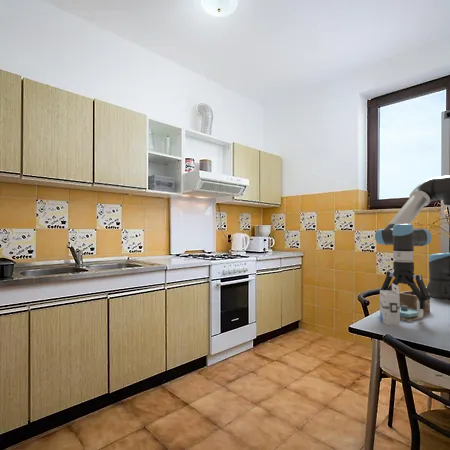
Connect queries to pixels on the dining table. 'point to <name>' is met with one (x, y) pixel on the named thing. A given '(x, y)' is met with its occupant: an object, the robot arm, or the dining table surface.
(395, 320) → the ink box
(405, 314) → the lid
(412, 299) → the box
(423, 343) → the dining table surface
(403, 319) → the trivet
